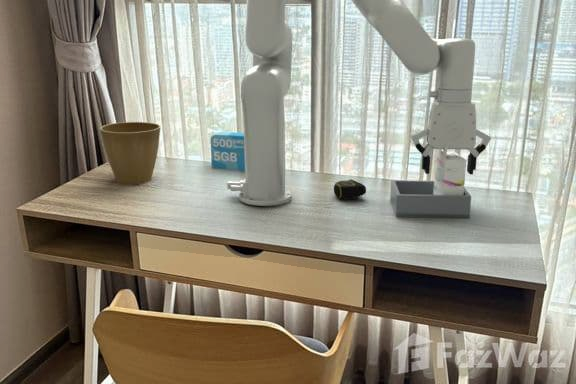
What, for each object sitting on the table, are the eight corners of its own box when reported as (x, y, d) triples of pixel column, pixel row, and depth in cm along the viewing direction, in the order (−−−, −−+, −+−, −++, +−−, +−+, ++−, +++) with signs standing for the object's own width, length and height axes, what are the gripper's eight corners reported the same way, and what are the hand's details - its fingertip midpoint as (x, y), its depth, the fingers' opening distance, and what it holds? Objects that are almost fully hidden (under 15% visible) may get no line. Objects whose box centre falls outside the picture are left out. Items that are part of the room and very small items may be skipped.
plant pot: (93, 192, 154) (87, 130, 150) (125, 178, 168) (120, 120, 163) (145, 196, 150) (141, 133, 145) (173, 181, 164) (170, 123, 159)
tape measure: (367, 198, 145) (367, 183, 144) (342, 203, 143) (341, 188, 142) (354, 191, 152) (353, 177, 150) (329, 196, 149) (328, 182, 148)
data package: (211, 176, 169) (209, 134, 165) (217, 173, 173) (216, 131, 170) (252, 179, 165) (251, 136, 162) (257, 175, 170) (256, 133, 166)
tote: (395, 216, 134) (396, 195, 133) (390, 200, 146) (391, 180, 145) (469, 218, 133) (471, 196, 132) (457, 201, 145) (459, 181, 144)
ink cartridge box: (463, 211, 135) (468, 146, 131) (441, 211, 135) (446, 146, 131) (452, 200, 143) (457, 139, 139) (432, 200, 143) (436, 139, 139)
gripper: (415, 98, 129) (411, 176, 134) (498, 99, 128) (491, 177, 133) (411, 94, 136) (407, 168, 141) (489, 94, 135) (483, 169, 140)
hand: (448, 172), depth 137 cm, fingers open, 9 cm apart
